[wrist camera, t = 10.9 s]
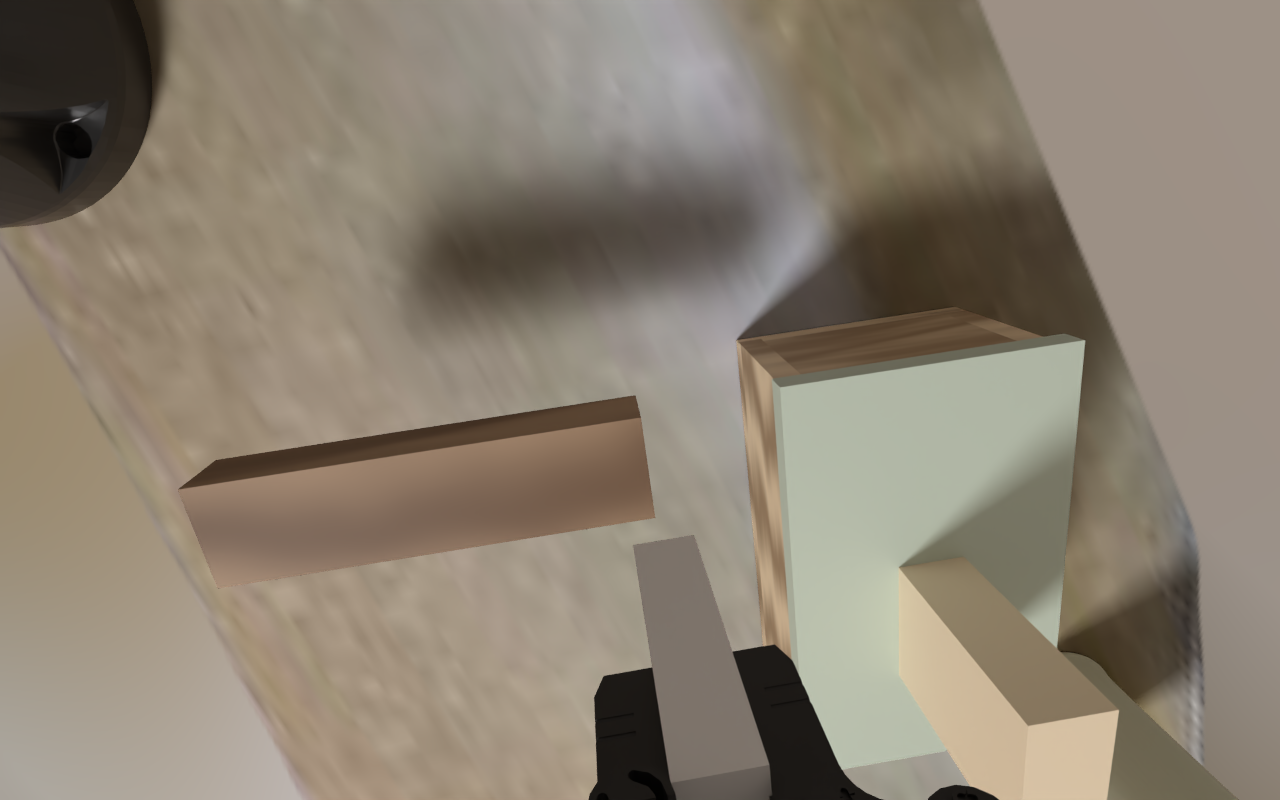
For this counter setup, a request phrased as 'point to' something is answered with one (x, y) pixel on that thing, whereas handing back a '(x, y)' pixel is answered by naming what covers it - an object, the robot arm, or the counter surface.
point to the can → (1147, 751)
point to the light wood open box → (816, 354)
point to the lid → (941, 564)
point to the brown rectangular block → (420, 491)
